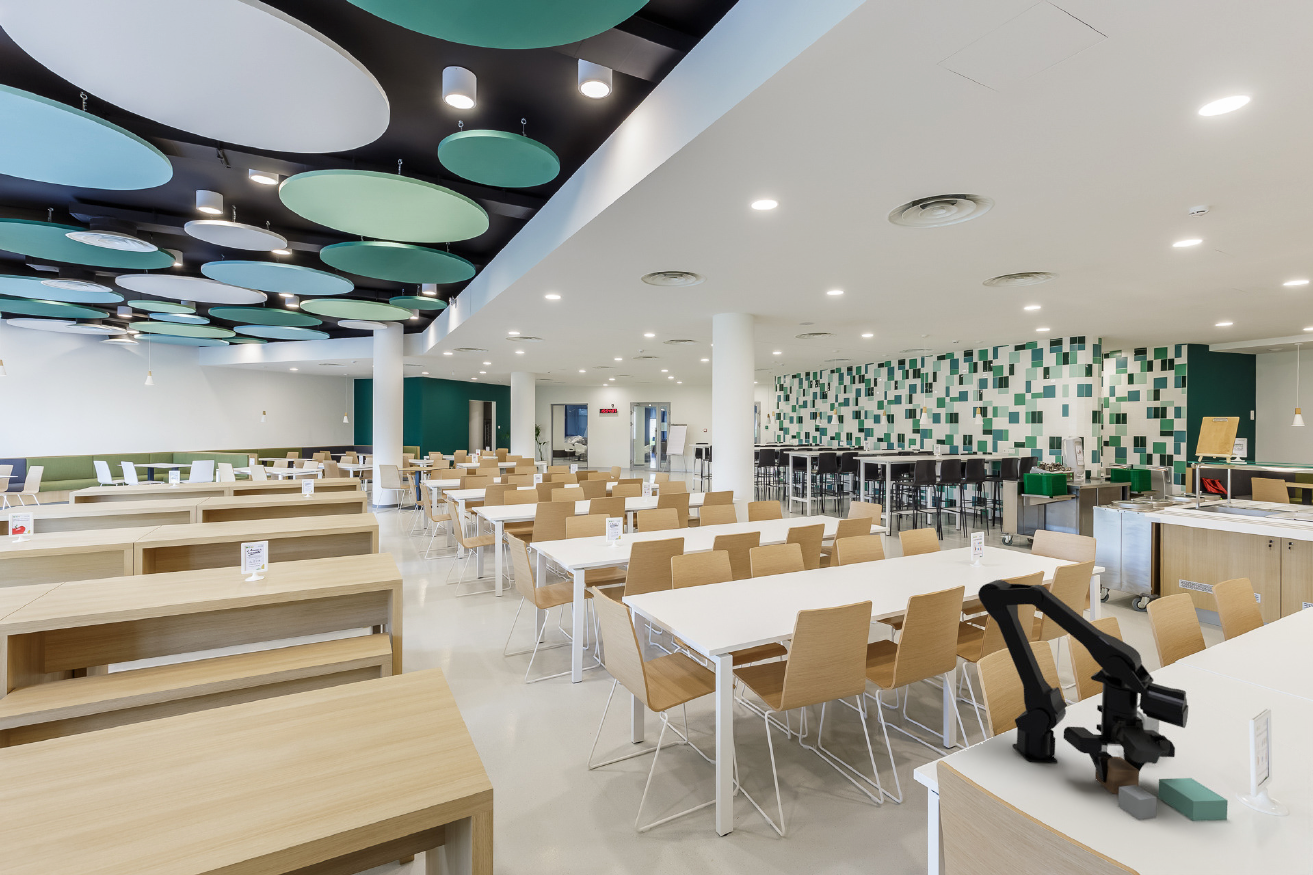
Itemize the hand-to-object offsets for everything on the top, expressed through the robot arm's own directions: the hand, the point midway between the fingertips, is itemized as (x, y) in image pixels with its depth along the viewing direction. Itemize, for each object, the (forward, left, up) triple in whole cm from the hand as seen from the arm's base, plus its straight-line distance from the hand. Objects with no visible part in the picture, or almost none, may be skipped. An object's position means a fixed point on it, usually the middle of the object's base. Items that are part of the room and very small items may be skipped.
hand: (1116, 781), depth 121 cm
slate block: (-2, -8, -1) cm, 8 cm away
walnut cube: (0, 0, -1) cm, 1 cm away
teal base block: (+10, -6, -1) cm, 12 cm away
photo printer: (+15, +13, -1) cm, 20 cm away
